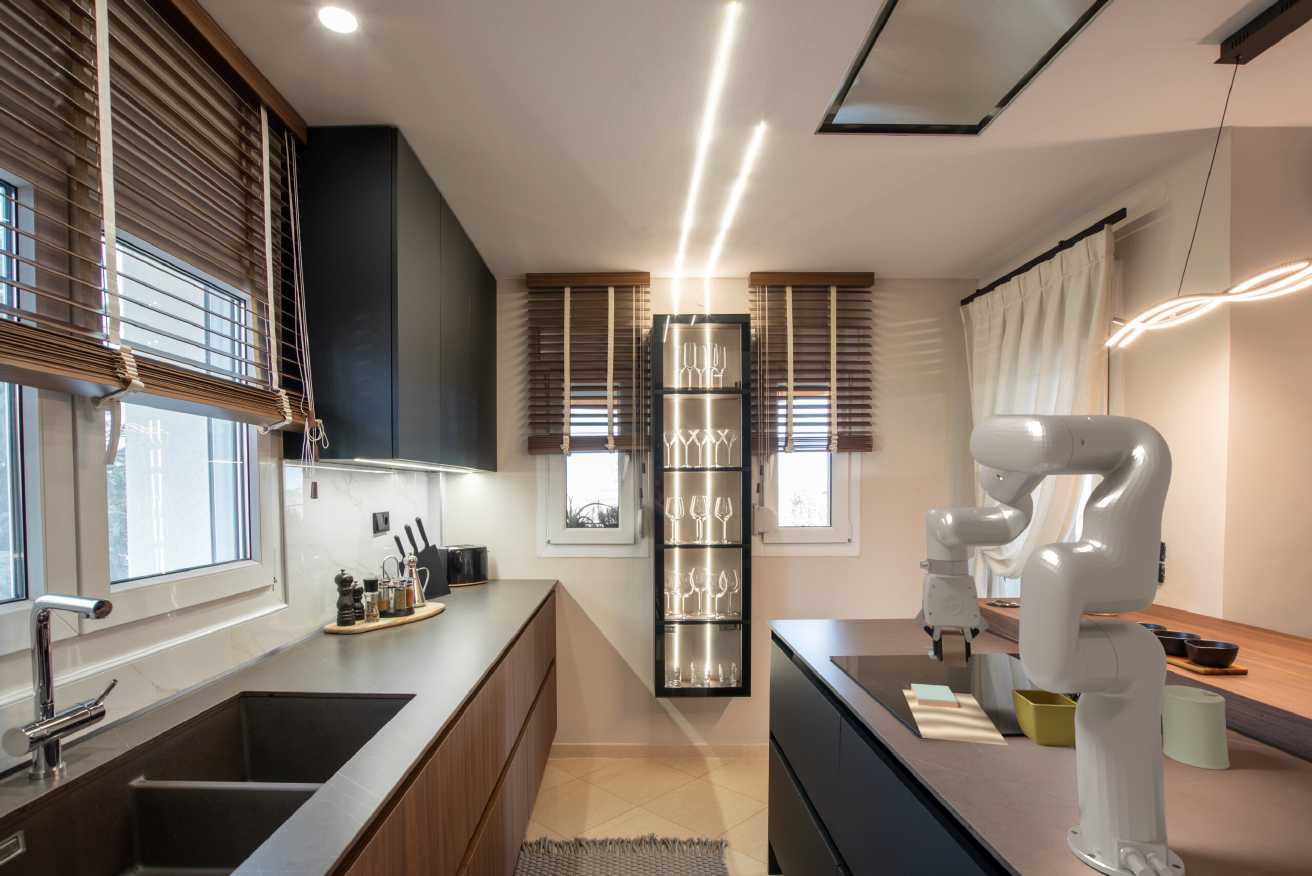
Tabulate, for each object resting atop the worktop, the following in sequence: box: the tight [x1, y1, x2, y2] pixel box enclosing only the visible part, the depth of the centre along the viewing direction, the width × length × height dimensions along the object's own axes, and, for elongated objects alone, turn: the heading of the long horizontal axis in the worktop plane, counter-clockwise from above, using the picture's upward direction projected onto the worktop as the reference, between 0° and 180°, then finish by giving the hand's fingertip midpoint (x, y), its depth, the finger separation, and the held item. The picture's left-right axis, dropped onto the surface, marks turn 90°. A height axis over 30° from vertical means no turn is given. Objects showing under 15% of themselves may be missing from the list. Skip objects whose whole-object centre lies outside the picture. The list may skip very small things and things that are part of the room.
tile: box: [910, 683, 958, 708], centre depth 139 cm, size 2×8×10 cm
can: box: [1161, 684, 1231, 771], centre depth 112 cm, size 9×9×12 cm
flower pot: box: [1011, 688, 1078, 747], centre depth 118 cm, size 9×9×9 cm
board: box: [901, 688, 1009, 746], centre depth 130 cm, size 28×15×1 cm, turn 166°
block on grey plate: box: [924, 629, 967, 668], centre depth 127 cm, size 12×7×6 cm, turn 166°
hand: (952, 659), depth 124 cm, fingers closed on block on grey plate, 4 cm apart
